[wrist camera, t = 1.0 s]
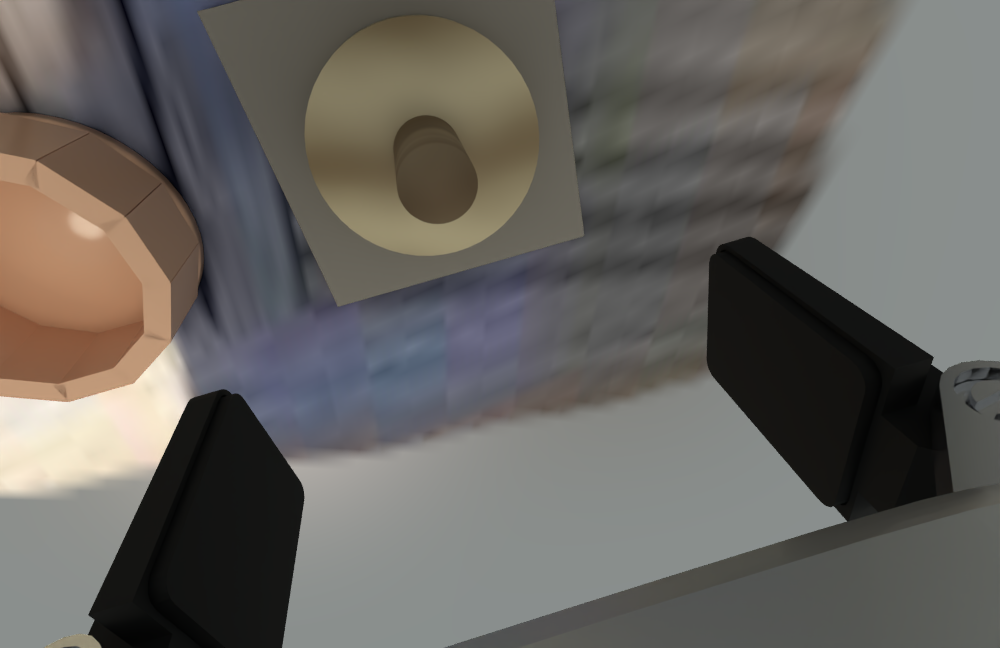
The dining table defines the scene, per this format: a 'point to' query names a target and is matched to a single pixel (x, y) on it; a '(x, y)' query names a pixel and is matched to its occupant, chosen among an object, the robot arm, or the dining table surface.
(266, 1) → the mat
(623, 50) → the dining table surface
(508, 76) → the lid
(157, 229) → the bowl
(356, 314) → the dining table surface
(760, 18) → the dining table surface
